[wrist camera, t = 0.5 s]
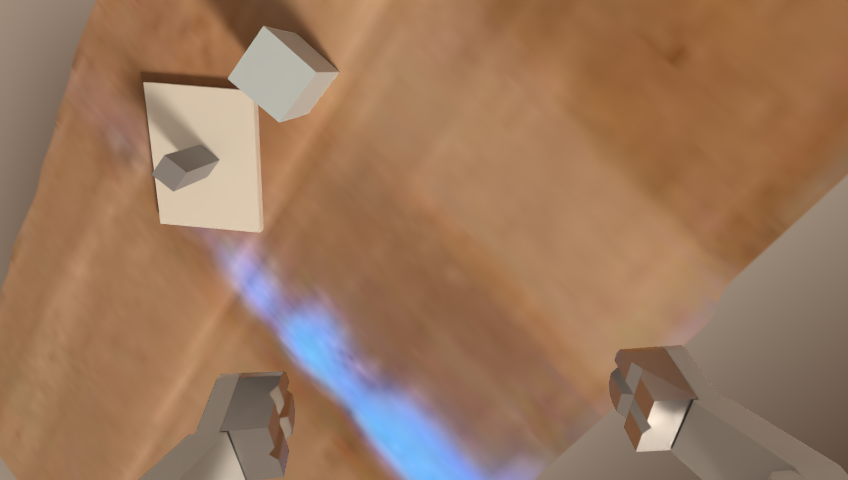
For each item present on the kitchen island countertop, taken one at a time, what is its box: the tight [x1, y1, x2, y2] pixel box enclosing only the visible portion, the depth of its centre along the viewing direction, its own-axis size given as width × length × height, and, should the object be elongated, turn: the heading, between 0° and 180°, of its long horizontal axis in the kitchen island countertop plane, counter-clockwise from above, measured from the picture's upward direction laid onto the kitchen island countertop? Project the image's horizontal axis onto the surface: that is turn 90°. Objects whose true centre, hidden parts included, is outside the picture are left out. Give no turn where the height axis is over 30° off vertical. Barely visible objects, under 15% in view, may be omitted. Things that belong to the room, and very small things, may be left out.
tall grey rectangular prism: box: [228, 26, 339, 123], centre depth 47 cm, size 6×6×9 cm
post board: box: [143, 82, 264, 232], centre depth 51 cm, size 16×12×8 cm
